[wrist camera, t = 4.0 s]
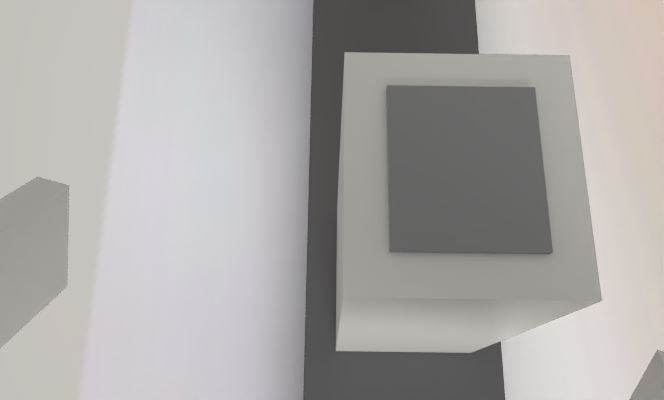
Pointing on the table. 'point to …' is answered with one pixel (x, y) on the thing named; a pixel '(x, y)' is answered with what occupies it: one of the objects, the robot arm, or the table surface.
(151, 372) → the table surface
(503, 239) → the block
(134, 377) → the table surface
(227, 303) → the table surface
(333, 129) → the power strip
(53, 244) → the robot arm
